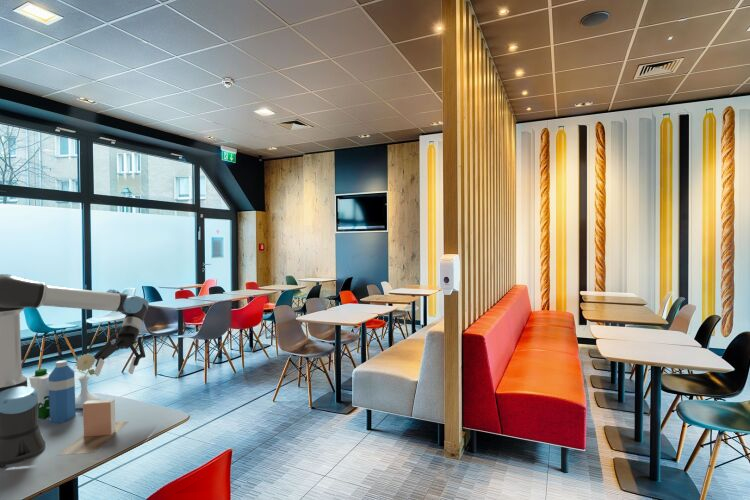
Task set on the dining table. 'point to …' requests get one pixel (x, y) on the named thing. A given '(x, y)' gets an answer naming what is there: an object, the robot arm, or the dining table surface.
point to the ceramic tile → (99, 417)
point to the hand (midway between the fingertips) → (113, 373)
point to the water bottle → (61, 393)
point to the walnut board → (90, 442)
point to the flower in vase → (84, 380)
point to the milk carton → (42, 391)
